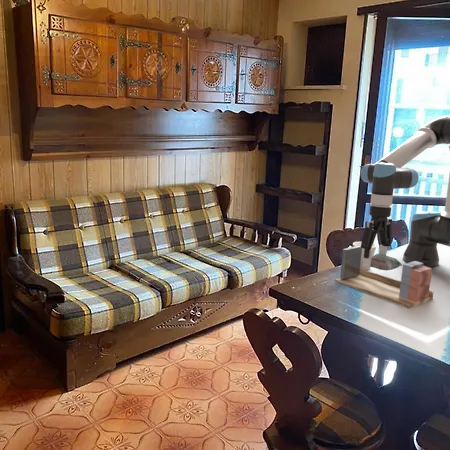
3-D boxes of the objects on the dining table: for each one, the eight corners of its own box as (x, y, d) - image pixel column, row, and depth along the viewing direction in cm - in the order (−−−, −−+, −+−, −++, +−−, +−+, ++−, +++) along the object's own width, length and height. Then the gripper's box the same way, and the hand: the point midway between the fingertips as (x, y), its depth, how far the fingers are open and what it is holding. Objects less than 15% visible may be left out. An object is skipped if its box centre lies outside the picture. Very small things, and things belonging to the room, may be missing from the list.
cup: (375, 273, 197) (378, 248, 194) (351, 271, 198) (353, 246, 196) (372, 267, 206) (375, 242, 204) (349, 265, 208) (351, 240, 205)
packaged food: (390, 274, 169) (391, 261, 168) (361, 267, 178) (362, 254, 177) (402, 270, 175) (403, 257, 174) (373, 263, 183) (374, 251, 182)
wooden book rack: (358, 275, 194) (361, 244, 191) (432, 299, 170) (437, 264, 167) (335, 281, 185) (337, 249, 182) (409, 308, 161) (414, 271, 158)
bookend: (355, 274, 191) (358, 245, 188) (359, 275, 190) (362, 246, 187) (340, 278, 185) (343, 249, 182) (343, 279, 184) (346, 250, 181)
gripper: (388, 201, 183) (382, 257, 188) (354, 206, 170) (348, 266, 175) (406, 204, 177) (399, 262, 182) (372, 209, 164) (365, 271, 169)
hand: (374, 264), depth 178 cm, fingers closed on packaged food, 9 cm apart
